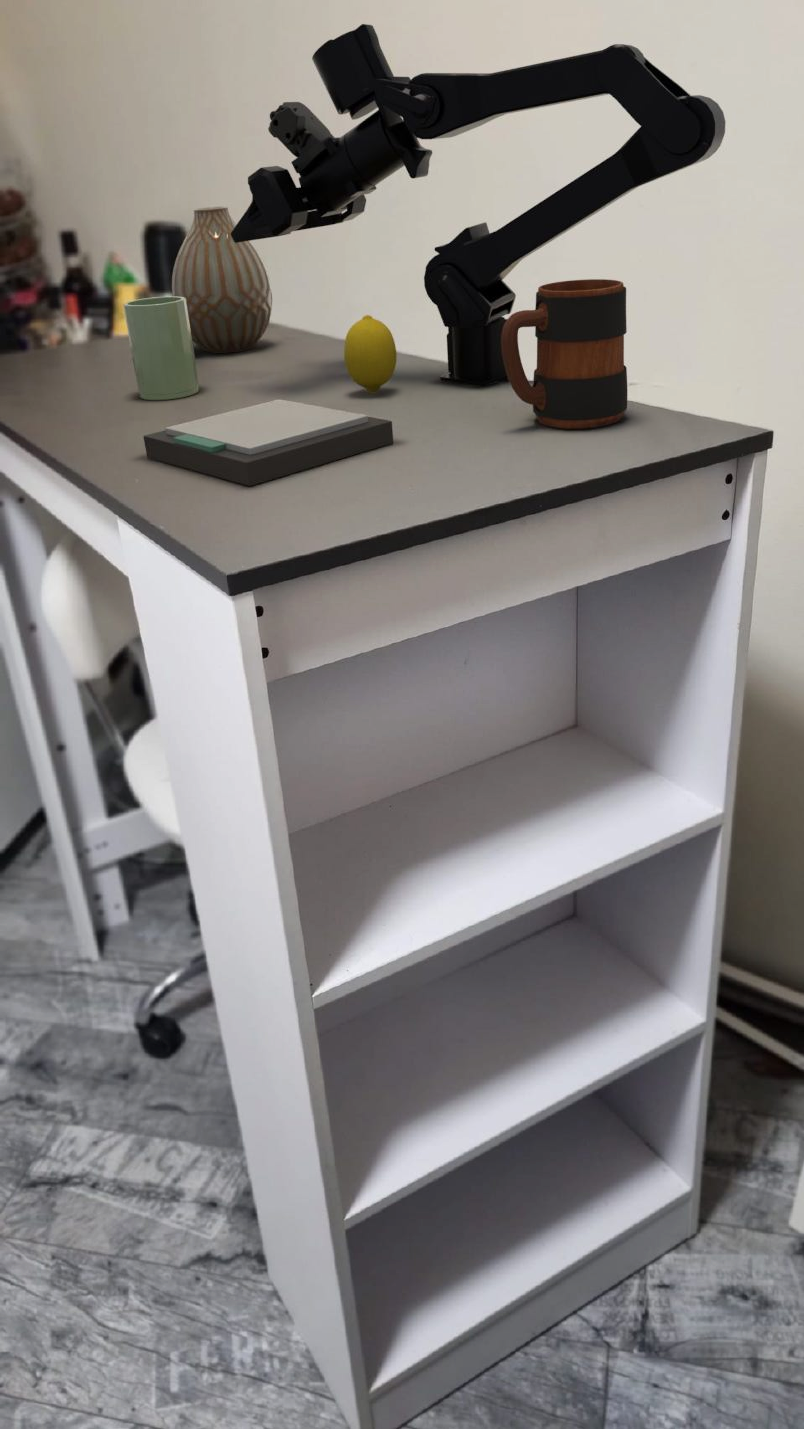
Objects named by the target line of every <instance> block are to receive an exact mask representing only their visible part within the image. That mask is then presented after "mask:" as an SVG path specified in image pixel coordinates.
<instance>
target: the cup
mask: <svg viewBox="0 0 804 1429" xmlns="http://www.w3.org/2000/svg"><path fill="white" fill-rule="evenodd" d="M122 306H123V311H124V318H125V323H126V327H127V328H126V329H127V335H128V340H129V345H130V351H131V356H132V361H133V363H132V364H133V367H134V368H133V369H134V373H135V379H136V380H135V381H136V386H137V390H138V394H139V398H140V399H143V400H146V401H166V400H176V399H182V398H186V397H190V396H193V395H196V394H197V393H199V392H200V388H199V385H200V384H199V376H198V371H197V365H196V364H197V363H196V357H195V351H194V344H193V343H194V342H193V340H192V337H191V330H190V323H189V317H188V310H187V304H186V298H184V297H178V296H171V295H169V296H155V297H145V298H138V299H134V300H130V301H126V302H124V303H123V304H122Z"/></svg>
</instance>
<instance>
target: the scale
mask: <svg viewBox="0 0 804 1429" xmlns="http://www.w3.org/2000/svg"><path fill="white" fill-rule="evenodd" d="M164 429H165V430H161V431H157V432H153V433H149V434H145V435H143V437H142V438H143V443H144V448H145V454H146V457H147V458H148V459H152V460H155V461H157V462H158V461H159V462H162V463H166V464H169V465H173V466H176V467H179V468H184V469H187V470H191V471H194V472H198V473H200V474H201V473H202V474H205V475H208V476H211V477H216V478H219V479H223V480H226V481H229V482H233V483H236V484H240V485H244V486H247V487H252V486H255V485H259V484H263V483H266V482H269V481H272V480H275V479H278V478H283V477H285V476H289V475H292V474H295V473H299V472H302V471H305V470H309V469H312V468H315V467H318V466H323V465H325V464H328V463H331V462H332V463H333V462H335V461H338V460H342V459H345V458H348V457H351V456H355V455H358V454H362V453H365V452H368V451H369V452H370V451H372V450H376V449H379V448H382V447H384V446H388V445H392V444H394V430H393V421H392V420H388V419H384V418H378V417H372V416H369V415H368V414H367V415H366V414H361V413H356V412H352V411H351V412H350V411H345V410H340V409H334V408H329V407H323V406H318V405H312V404H307V403H302V402H297V401H291V400H285V399H280V398H279V399H274V400H271V401H266V402H262V403H259V404H255V405H251V406H250V405H249V406H247V407H243V408H238V409H234V410H230V411H227V412H222V413H219V414H214V415H210V416H206V417H202V418H199V419H194V420H190V421H186V422H183V423H178V424H174V425H170V426H166V427H165V428H164Z"/></svg>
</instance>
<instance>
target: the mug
mask: <svg viewBox="0 0 804 1429" xmlns="http://www.w3.org/2000/svg"><path fill="white" fill-rule="evenodd" d="M534 308H535V309H523V310H518V311H516V312H514V313H512V314H511V315H510V316H509V317H508V318H506V319H507V321H506V322H505V324H504V326H503V330H502V337H501V347H502V356H503V361H504V366H505V370H506V373H507V376H508V379H507V380H508V382H509V384H510V386H511V389H512V390H513V392H514V393H515V395H516V396H517V397H518V398H519V399H520V401H522V402H524V403H526V404H528V405H532V412H533V413H534V414H535V416H536V419H537V421H538V422H539V423H540V424H542V425H543V426H546V427H550V428H555V429H564V430H565V429H566V430H581V429H594V428H602V427H605V426H609V425H612V424H615V423H617V422H619V421H620V420H621V419H622V417H623V415H624V412H626V411H627V409H628V372H627V371H628V368H627V366H626V365H625V356H624V355H625V335H626V334H627V287H626V286H625V285H624V282H623V281H620V280H616V279H606V278H605V279H603V278H602V279H601V278H596V279H595V278H592V279H591V278H590V279H589V278H588V279H572V280H571V279H570V280H564V281H563V280H562V281H554V282H549V283H545V284H542V285H540V286H538V289H537V291H536V293H535V307H534ZM521 328H535V329H534V330H535V331H534V336H535V337H536V368H535V369H534V370H533V380H532V385H531V383H530V381H529V380H528V377H527V375H526V373H525V370H524V367H523V363H522V359H521V354H520V349H519V329H521Z"/></svg>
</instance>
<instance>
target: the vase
mask: <svg viewBox="0 0 804 1429" xmlns="http://www.w3.org/2000/svg"><path fill="white" fill-rule="evenodd" d="M236 225H237V223H235V221H234V219H233V218H232V216H231V214H230V210H229V207H228V206H210V207H209V206H208V207H200V208H194V209H193V219H192V223H191V226H190V229H189V230H188V232H187V234H186V236H185V238H184V240H183V242H182V244H181V246H180V247H179V250H178V252H177V256H176V258H175V261H174V265H173V269H172V276H171V295H172V296H178V297H184V298H186V304H187V310H188V317H189V323H190V330H191V337H192V342H193V343H195V344H196V345H197V346H198V347H199V348H200V349H202V350H203V351H204V352H206V353H211V354H227V353H237V352H242V351H247V350H250V349H253V348H254V347H255V346H256V345H257V344H258V343H259V340H260V339H261V338H262V337H263V336H264V334H265V333H266V331H267V328H268V326H269V324H270V319H271V318H272V317H271V316H272V312H273V291H272V284H271V279H270V275H269V272H268V269H267V267H266V265H265V262H264V260H263V257H261V255H260V253H259V251H258V249H257V248H256V247H255V245H254V244H253V243H252V241H244V242H238V243H235V242H234V240H233V239H232V237H231V232H232V230H233V229H234V228H235V226H236Z"/></svg>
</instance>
